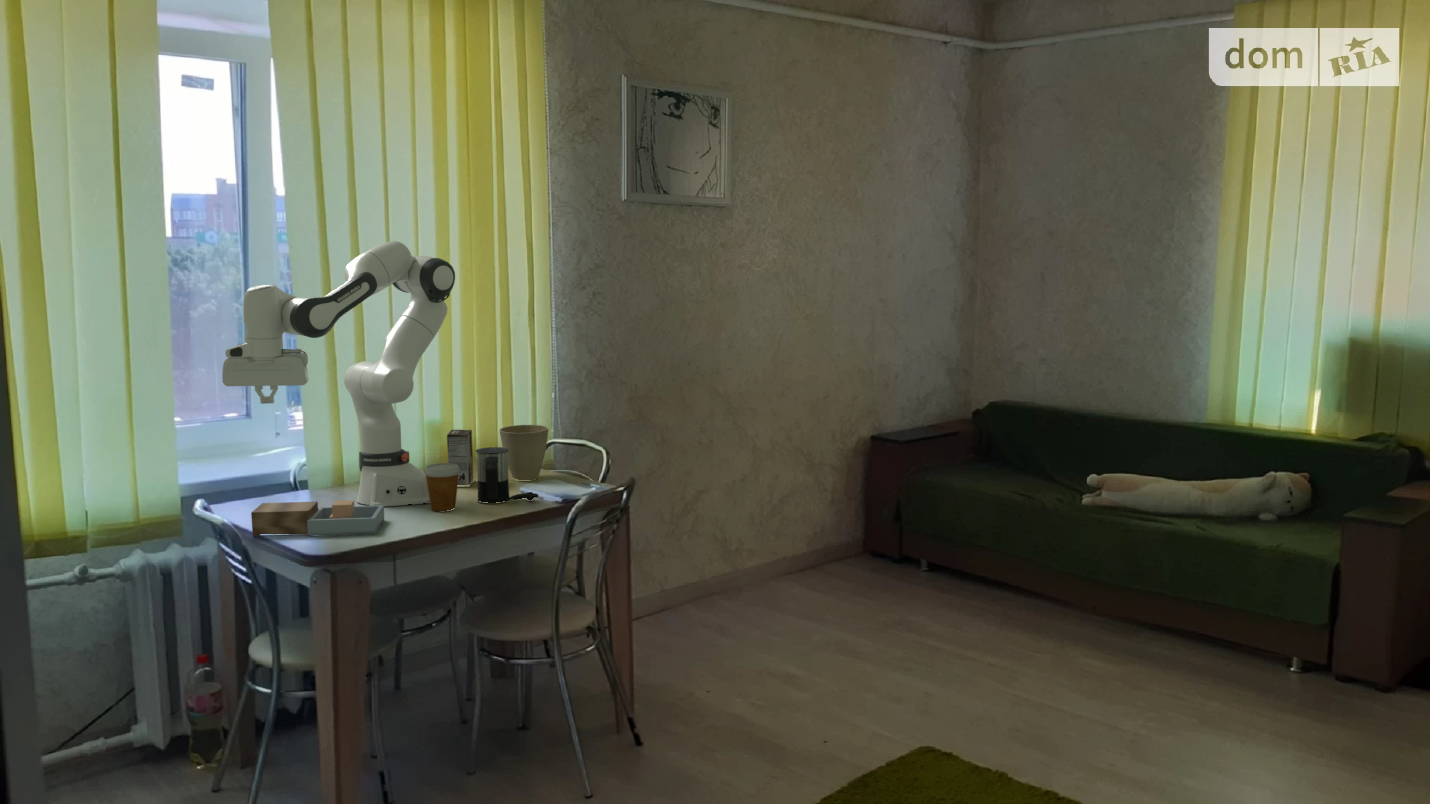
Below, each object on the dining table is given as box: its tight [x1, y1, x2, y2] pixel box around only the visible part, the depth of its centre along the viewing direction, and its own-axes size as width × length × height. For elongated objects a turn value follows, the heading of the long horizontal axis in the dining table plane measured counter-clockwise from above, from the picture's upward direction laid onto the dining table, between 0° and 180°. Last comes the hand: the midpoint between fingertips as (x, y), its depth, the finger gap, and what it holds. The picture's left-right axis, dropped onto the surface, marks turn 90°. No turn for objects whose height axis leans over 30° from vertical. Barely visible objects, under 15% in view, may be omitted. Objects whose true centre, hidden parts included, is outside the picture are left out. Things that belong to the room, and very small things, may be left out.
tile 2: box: [329, 514, 352, 519], centre depth 269 cm, size 4×5×3 cm
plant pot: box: [499, 424, 549, 481], centre depth 327 cm, size 15×15×16 cm
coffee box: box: [446, 429, 475, 485], centre depth 319 cm, size 9×6×16 cm
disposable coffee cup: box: [423, 462, 460, 512], centre depth 288 cm, size 10×10×12 cm
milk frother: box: [475, 446, 539, 503], centre depth 297 cm, size 14×16×15 cm
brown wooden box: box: [250, 500, 319, 537], centre depth 267 cm, size 14×10×6 cm
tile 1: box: [331, 499, 355, 517], centre depth 268 cm, size 4×5×3 cm
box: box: [307, 505, 385, 536], centre depth 269 cm, size 16×14×4 cm
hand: (267, 403), depth 271 cm, fingers closed
